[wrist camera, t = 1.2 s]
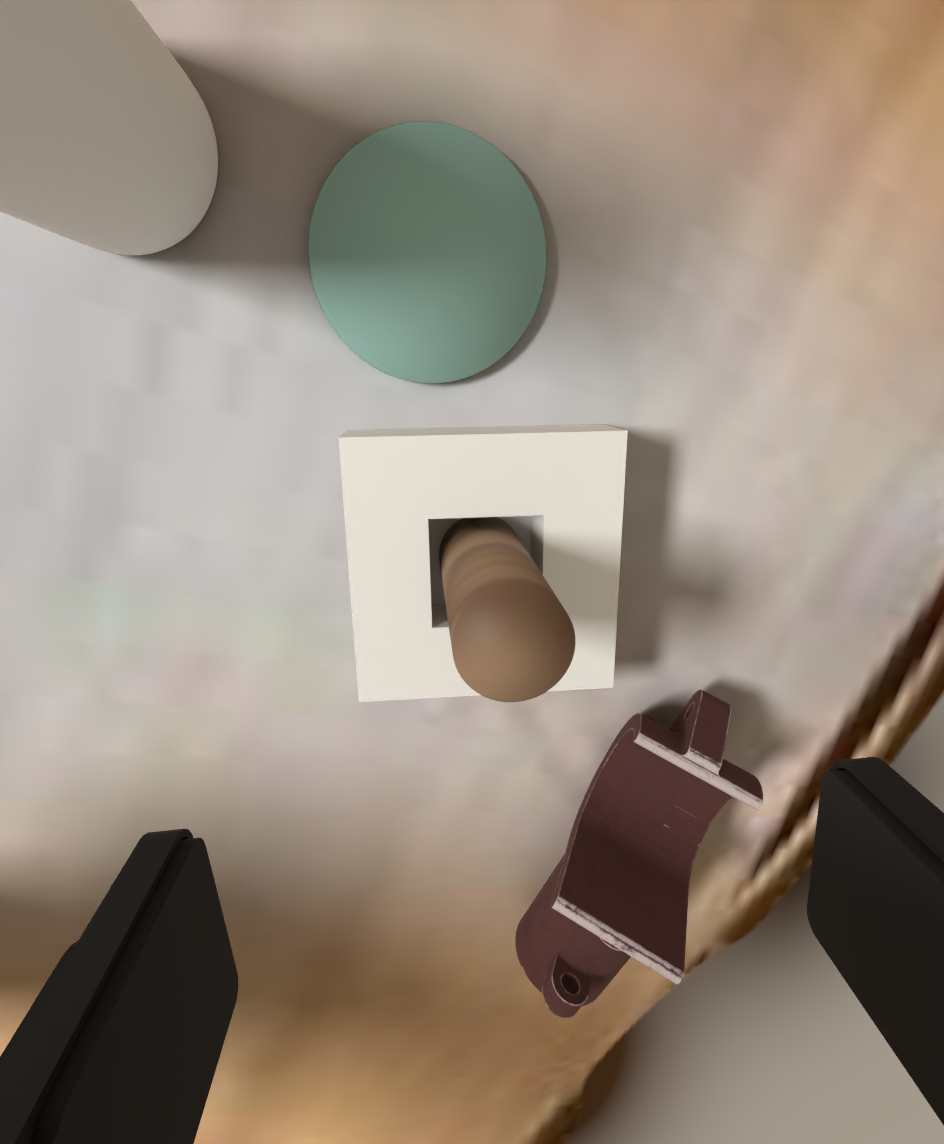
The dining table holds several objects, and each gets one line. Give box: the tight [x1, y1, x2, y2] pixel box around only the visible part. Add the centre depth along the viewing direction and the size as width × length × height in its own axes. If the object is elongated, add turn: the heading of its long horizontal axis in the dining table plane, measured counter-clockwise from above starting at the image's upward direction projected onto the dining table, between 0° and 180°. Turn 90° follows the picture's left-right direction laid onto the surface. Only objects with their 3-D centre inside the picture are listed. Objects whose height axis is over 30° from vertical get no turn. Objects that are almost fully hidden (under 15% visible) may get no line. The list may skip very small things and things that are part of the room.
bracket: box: [516, 690, 763, 1018], centre depth 33 cm, size 6×17×10 cm, turn 160°
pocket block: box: [339, 424, 628, 702], centre depth 30 cm, size 12×12×4 cm
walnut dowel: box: [439, 517, 576, 702], centre depth 26 cm, size 4×4×11 cm
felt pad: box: [308, 121, 547, 383], centre depth 27 cm, size 10×10×1 cm
